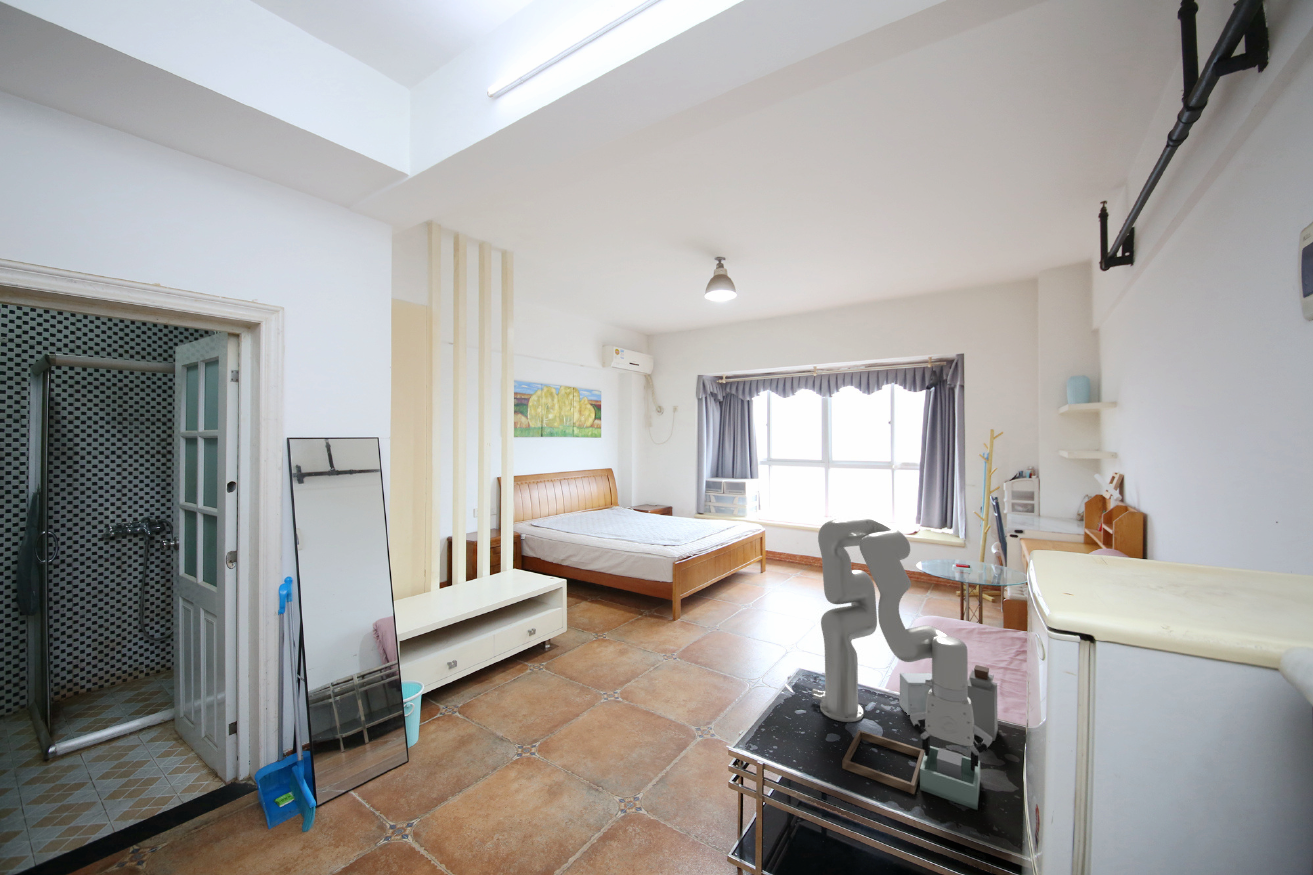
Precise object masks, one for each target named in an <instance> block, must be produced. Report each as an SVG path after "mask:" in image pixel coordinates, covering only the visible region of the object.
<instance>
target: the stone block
mask: <svg viewBox="0 0 1313 875" xmlns="http://www.w3.org/2000/svg"><path fill="white" fill-rule="evenodd" d="M962 756H963V754H961V753H958V752H955V751H952V750H951V751H950V750H948V749H944V748H942V747H939V750H938V755H937V773H940V774H943V775H946V776H949V777H952V778H955V779H958V780H961V781H962V780H963V762H962Z"/></svg>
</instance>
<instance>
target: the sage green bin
mask: <svg viewBox="0 0 1313 875" xmlns="http://www.w3.org/2000/svg"><path fill="white" fill-rule="evenodd" d="M939 748H940V747H939ZM939 748H938V747H936V746H932V745H930V752H929V756H925V753H924V757H923V760H922V764H921V767H920V776H919V786H920V787H919V790H920V791H921V792H922V791H923V792H926V793H928V794H931V795H934V796H936V797H939V798H943V799H946V800H947V801H951V802H954V803H955V804H959V805H962V806H965V807H968V808H971V809H973V810H976V811H978V808H979V807H978V806H979V797H980V788H981V760H978V767H976V766H975V770H974V771H972V770H971V757H968V756H964V755H962V762H963V780H962V781H961V780H958V779H955V778H952V777H949V776H946V775H943V774H940V773H937V755H938V750H939Z"/></svg>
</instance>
